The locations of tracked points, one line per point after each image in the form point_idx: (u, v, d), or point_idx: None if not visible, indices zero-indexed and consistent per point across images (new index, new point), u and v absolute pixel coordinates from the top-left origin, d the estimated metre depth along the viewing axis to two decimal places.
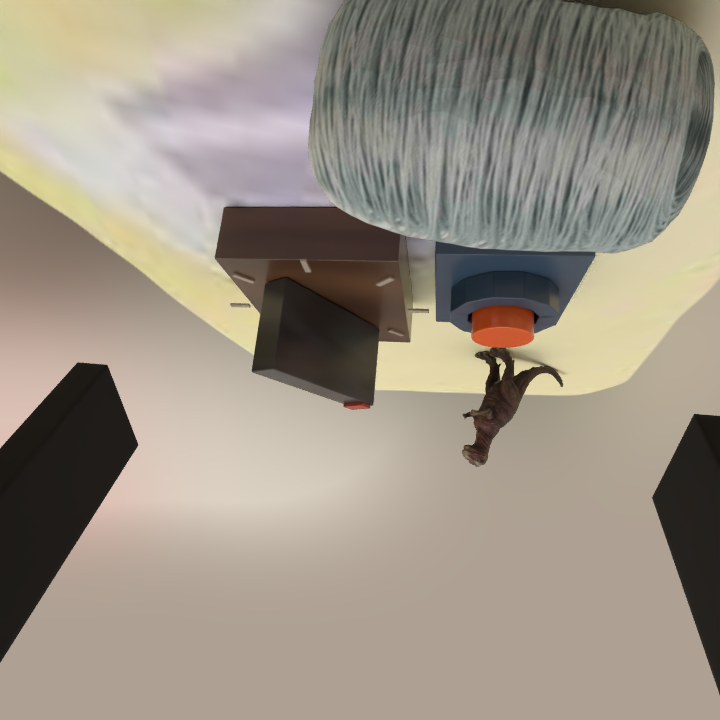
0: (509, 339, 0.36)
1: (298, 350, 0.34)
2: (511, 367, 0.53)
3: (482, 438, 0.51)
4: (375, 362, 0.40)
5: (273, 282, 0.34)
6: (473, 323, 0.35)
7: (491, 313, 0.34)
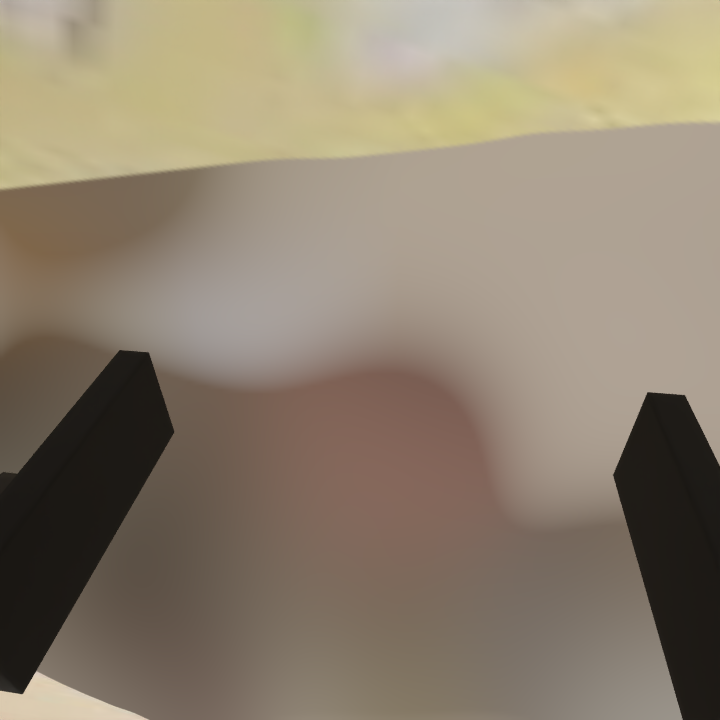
0: None
1: None
2: None
3: None
4: None
5: None
6: None
7: None
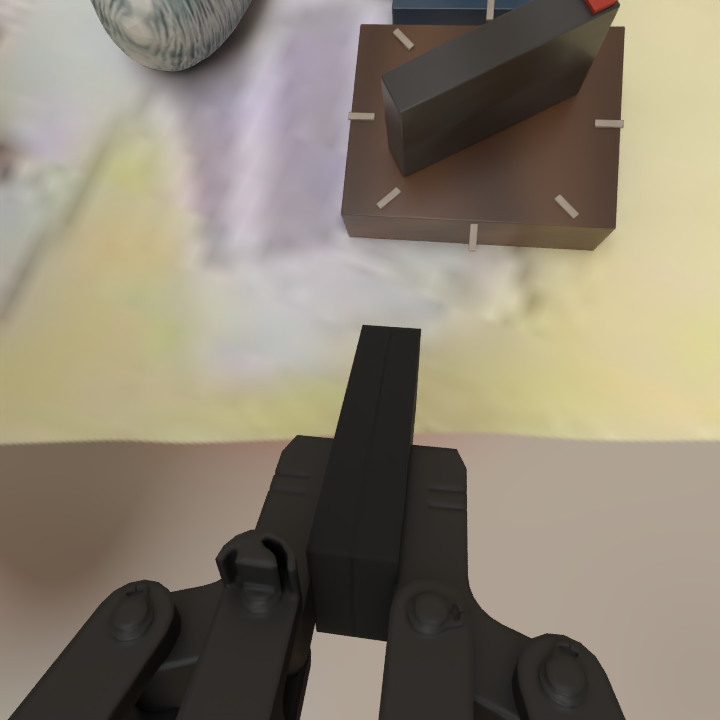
0: None
1: None
2: None
3: None
4: None
5: None
6: None
7: None
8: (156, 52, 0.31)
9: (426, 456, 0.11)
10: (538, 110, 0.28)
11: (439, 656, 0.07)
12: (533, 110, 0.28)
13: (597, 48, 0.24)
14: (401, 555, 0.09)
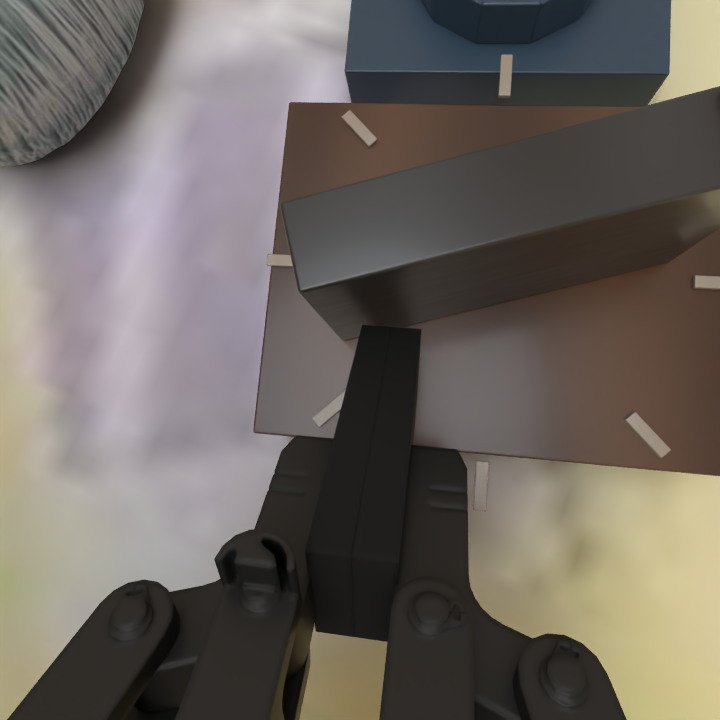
0: None
1: None
2: None
3: None
4: None
5: None
6: None
7: None
8: None
9: (427, 456, 0.11)
10: (593, 279, 0.16)
11: (440, 656, 0.07)
12: (584, 278, 0.15)
13: None
14: (402, 555, 0.09)
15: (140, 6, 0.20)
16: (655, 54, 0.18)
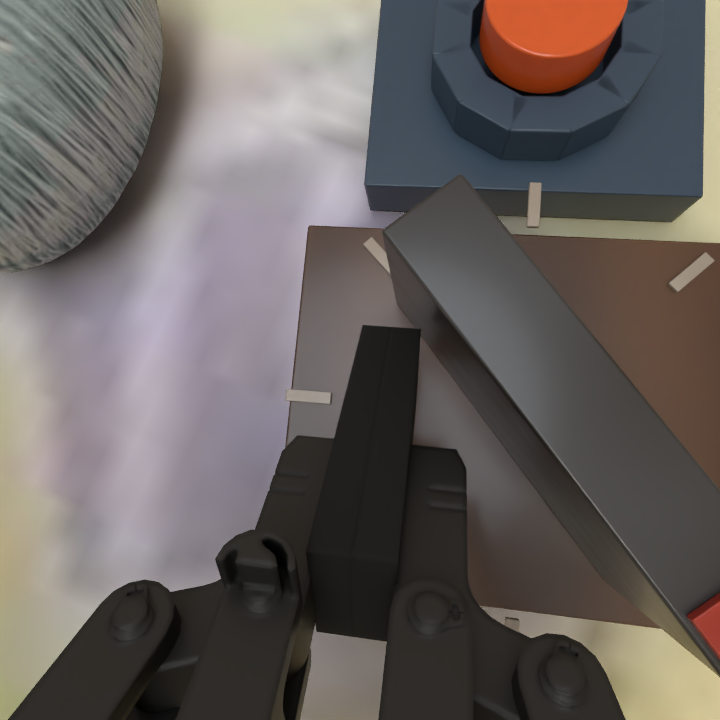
0: None
1: None
2: None
3: None
4: None
5: None
6: (527, 71, 0.16)
7: (487, 45, 0.17)
8: None
9: (426, 456, 0.11)
10: (555, 513, 0.15)
11: (439, 656, 0.07)
12: (549, 503, 0.15)
13: (655, 621, 0.11)
14: (401, 555, 0.09)
15: (152, 111, 0.20)
16: (688, 175, 0.17)
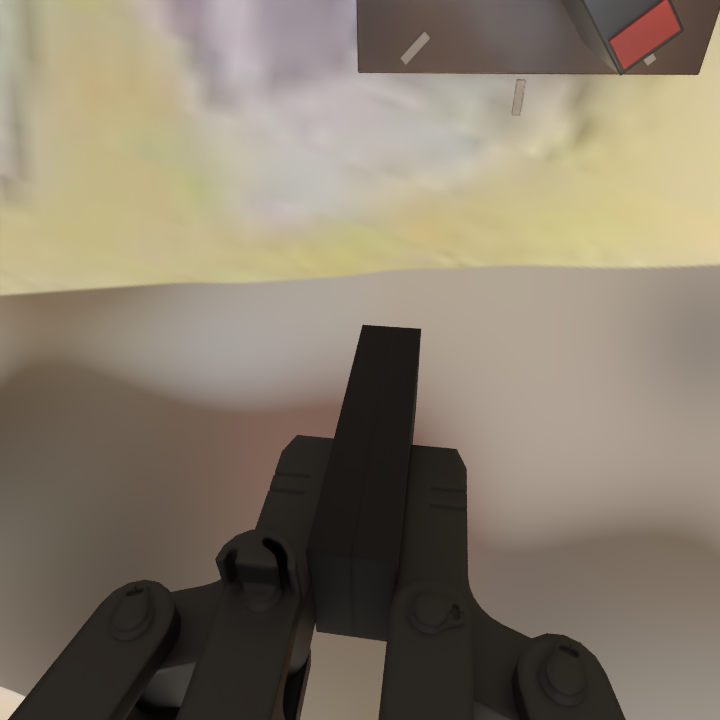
0: None
1: None
2: None
3: None
4: None
5: None
6: None
7: None
8: None
9: (426, 456, 0.11)
10: None
11: (439, 656, 0.07)
12: None
13: (601, 58, 0.19)
14: (401, 555, 0.09)
15: None
16: None
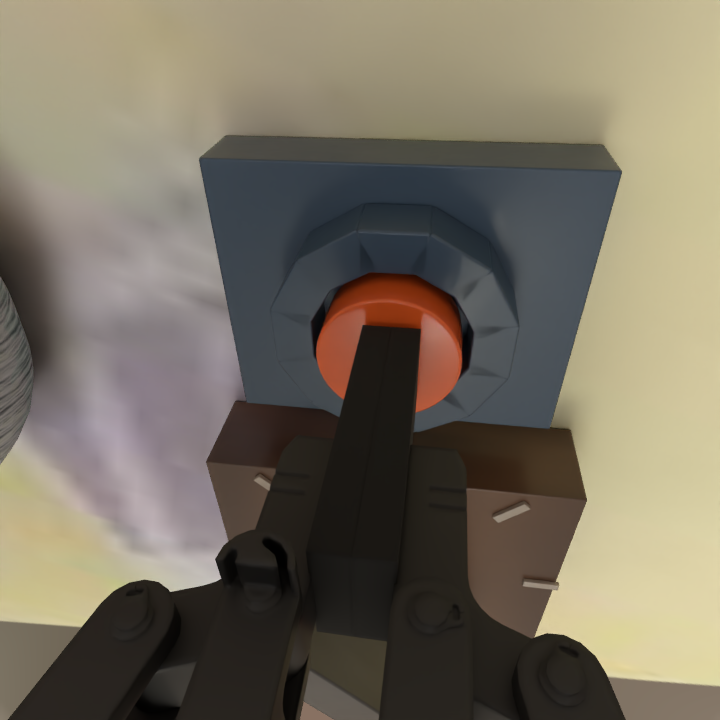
0: None
1: None
2: None
3: None
4: None
5: None
6: None
7: None
8: None
9: (426, 456, 0.11)
10: None
11: (439, 656, 0.07)
12: None
13: None
14: (401, 555, 0.09)
15: (19, 336, 0.19)
16: (539, 414, 0.18)
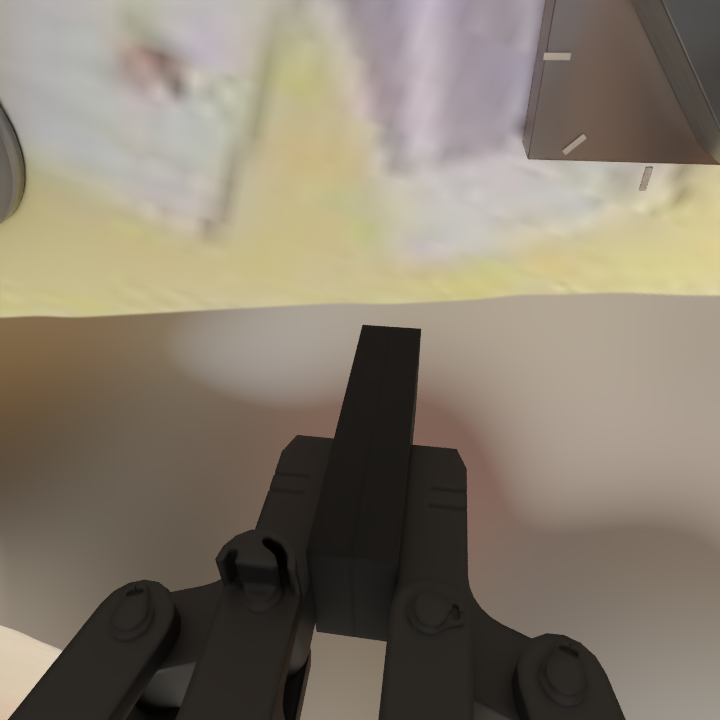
0: None
1: None
2: None
3: None
4: None
5: None
6: None
7: None
8: None
9: (426, 456, 0.11)
10: (685, 113, 0.29)
11: (439, 656, 0.07)
12: (684, 109, 0.29)
13: None
14: (401, 555, 0.09)
15: None
16: None
